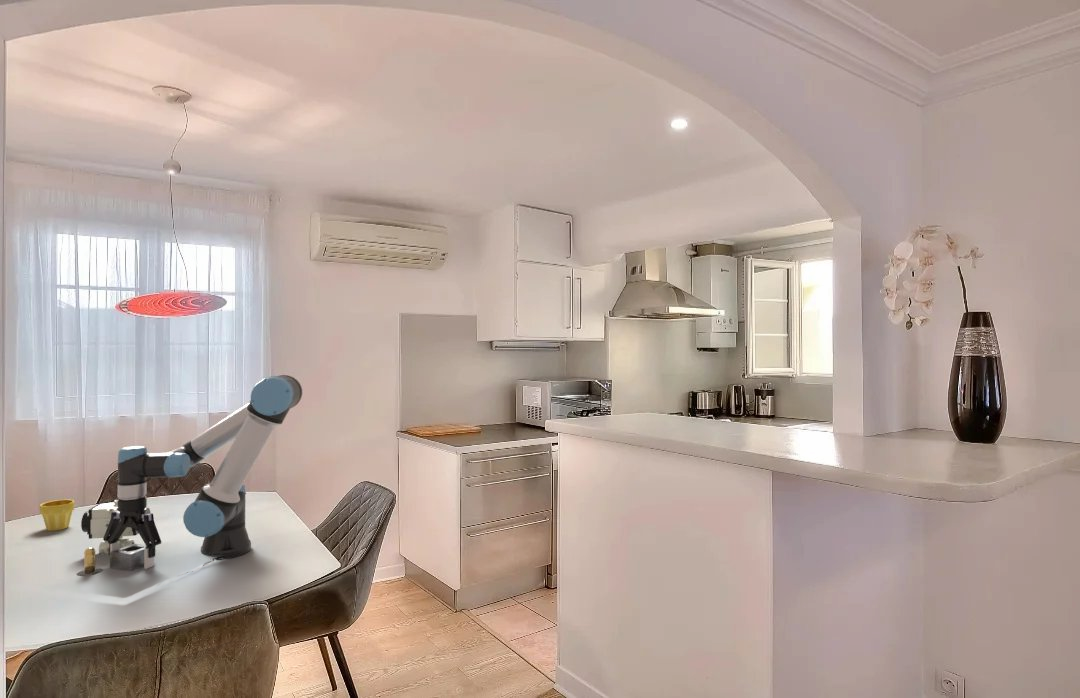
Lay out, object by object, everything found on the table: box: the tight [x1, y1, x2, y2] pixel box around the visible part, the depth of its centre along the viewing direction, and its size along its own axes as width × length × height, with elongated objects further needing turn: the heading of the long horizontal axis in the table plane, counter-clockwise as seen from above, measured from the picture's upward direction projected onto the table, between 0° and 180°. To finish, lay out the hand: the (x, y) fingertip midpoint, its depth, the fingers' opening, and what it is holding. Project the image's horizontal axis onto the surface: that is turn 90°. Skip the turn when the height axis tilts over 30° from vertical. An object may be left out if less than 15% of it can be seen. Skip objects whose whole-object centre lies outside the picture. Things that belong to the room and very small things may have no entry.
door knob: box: [76, 547, 104, 577], centre depth 184 cm, size 6×6×9 cm
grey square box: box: [109, 543, 146, 572], centre depth 190 cm, size 8×8×5 cm
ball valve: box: [80, 499, 152, 555], centre depth 204 cm, size 18×8×18 cm, turn 105°
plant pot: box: [39, 499, 75, 532], centre depth 232 cm, size 10×10×10 cm
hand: (132, 565), depth 190 cm, fingers open, 12 cm apart
